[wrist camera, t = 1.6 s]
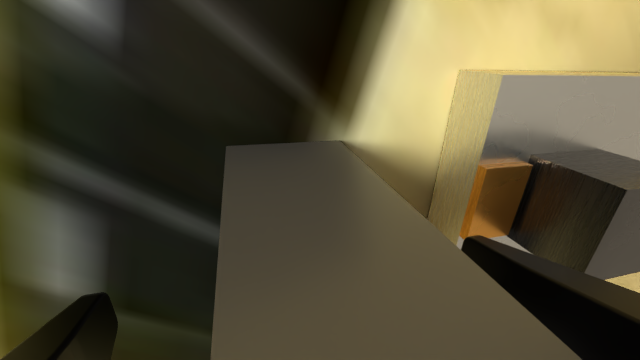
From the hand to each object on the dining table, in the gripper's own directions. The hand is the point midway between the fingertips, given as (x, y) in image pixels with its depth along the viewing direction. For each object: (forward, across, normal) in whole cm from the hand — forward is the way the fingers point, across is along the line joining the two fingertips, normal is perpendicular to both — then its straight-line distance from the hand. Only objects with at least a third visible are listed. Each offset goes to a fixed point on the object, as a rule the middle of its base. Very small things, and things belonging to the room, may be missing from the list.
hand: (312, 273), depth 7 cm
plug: (+4, 0, 0) cm, 4 cm away
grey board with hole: (+4, -14, 0) cm, 15 cm away
